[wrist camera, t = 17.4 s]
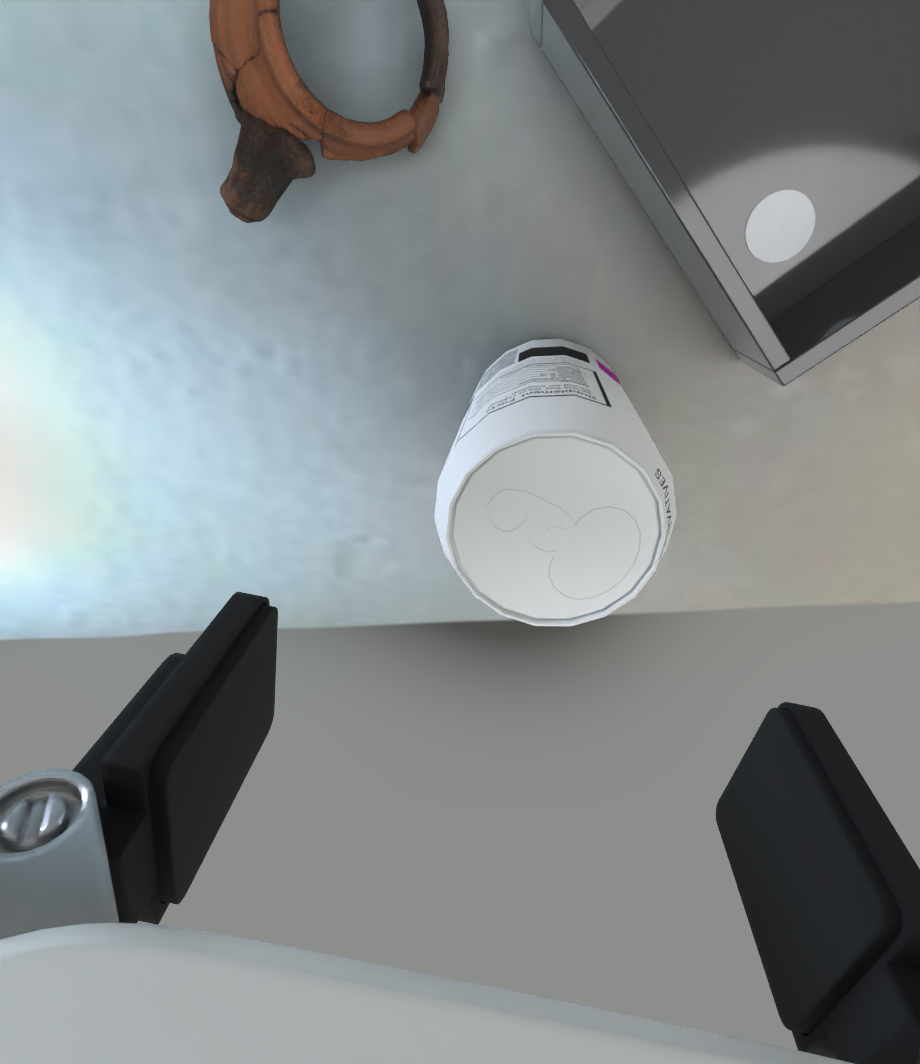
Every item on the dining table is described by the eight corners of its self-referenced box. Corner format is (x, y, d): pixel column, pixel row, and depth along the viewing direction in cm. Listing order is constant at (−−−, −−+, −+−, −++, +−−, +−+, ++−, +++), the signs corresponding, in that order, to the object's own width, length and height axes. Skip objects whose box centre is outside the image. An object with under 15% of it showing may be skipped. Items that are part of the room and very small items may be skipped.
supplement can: (654, 381, 31) (742, 489, 18) (572, 508, 35) (594, 676, 21) (517, 307, 30) (501, 361, 17) (447, 444, 34) (389, 578, 21)
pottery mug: (251, -109, 25) (283, -241, 18) (436, 54, 30) (515, -1, 23) (149, 175, 27) (145, 153, 20) (337, 282, 32) (383, 292, 26)
